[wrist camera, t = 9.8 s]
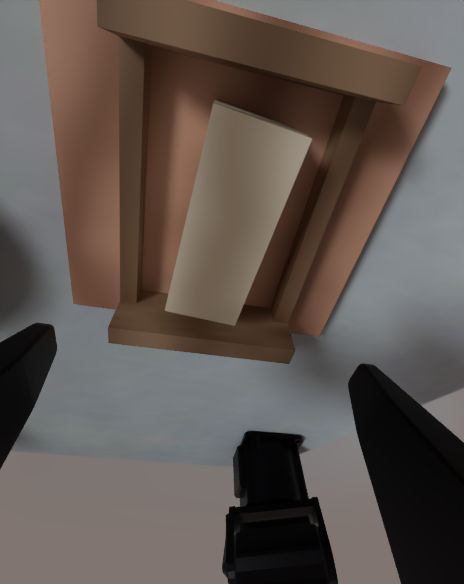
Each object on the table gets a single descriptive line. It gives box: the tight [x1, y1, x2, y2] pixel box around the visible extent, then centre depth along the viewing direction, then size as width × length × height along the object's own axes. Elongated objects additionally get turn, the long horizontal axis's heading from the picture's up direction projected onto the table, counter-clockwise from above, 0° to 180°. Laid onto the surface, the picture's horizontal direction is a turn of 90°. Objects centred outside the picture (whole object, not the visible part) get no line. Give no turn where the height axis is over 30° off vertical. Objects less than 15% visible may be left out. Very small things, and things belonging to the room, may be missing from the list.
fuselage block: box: [165, 98, 312, 326], centre depth 16 cm, size 4×10×4 cm, turn 163°
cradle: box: [39, 0, 451, 364], centre depth 16 cm, size 18×17×5 cm
